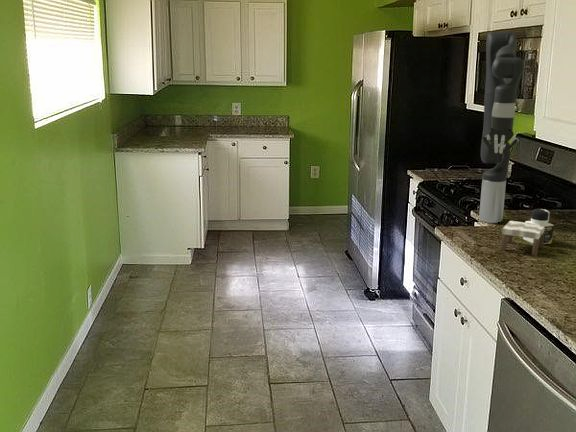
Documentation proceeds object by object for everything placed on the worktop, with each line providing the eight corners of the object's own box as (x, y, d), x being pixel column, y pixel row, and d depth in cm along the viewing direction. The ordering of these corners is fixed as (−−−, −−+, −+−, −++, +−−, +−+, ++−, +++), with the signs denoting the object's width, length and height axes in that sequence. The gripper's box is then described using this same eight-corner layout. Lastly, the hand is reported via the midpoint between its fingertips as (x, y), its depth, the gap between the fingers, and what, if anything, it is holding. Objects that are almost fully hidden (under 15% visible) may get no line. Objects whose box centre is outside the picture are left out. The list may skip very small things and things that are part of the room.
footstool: (510, 220, 222) (545, 225, 216) (508, 241, 224) (542, 246, 218) (502, 228, 212) (539, 233, 206) (500, 250, 215) (536, 256, 208)
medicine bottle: (535, 245, 220) (538, 213, 217) (522, 239, 227) (526, 208, 224) (551, 243, 222) (555, 211, 219) (539, 237, 229) (542, 207, 226)
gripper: (524, 115, 217) (519, 163, 222) (486, 113, 223) (482, 159, 228) (520, 117, 211) (514, 167, 215) (481, 115, 217) (477, 163, 222)
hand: (498, 163), depth 222 cm, fingers closed
